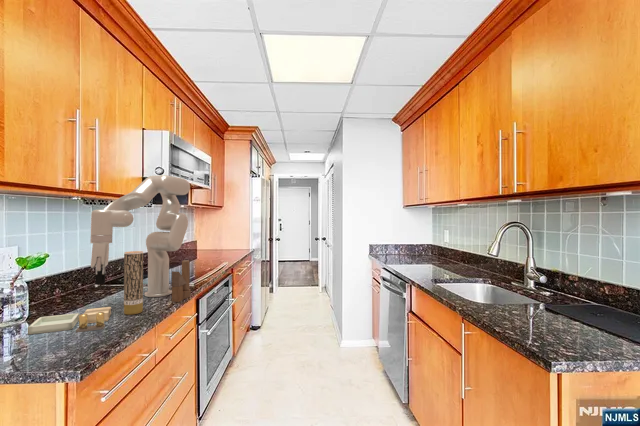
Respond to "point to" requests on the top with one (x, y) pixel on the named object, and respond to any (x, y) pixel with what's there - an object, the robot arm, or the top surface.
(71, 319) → the tray
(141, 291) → the paper tube
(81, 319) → the bench dogs
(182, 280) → the wooden block
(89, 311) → the beige stepped block
